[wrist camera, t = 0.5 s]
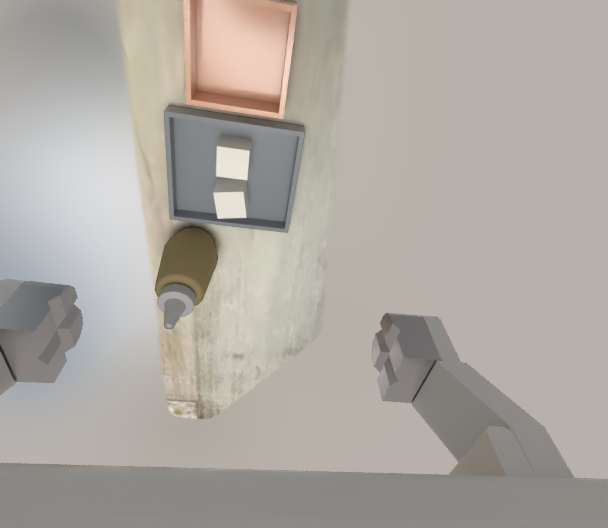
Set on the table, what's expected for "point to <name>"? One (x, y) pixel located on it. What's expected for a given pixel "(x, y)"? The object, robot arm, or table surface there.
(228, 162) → the white cube
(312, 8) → the table surface
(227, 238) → the table surface
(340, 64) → the table surface
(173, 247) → the squeeze bottle
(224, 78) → the bin
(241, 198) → the block
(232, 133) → the tray
